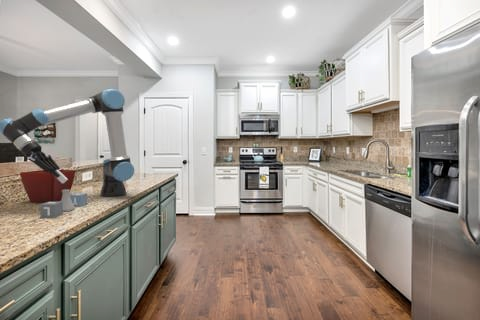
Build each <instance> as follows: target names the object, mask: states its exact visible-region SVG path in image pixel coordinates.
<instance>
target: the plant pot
mask: <svg viewBox="0 0 480 320" xmlns="http://www.w3.org/2000/svg"><path fill="white" fill-rule="evenodd" d="M59 171H60V172H61V173H62V174H63V175H64V176H65V177H66V178H67V179H68V180H67V181H66V182H65V183H61V182H60V181H59V180H58V179H57V178H56V177H55V176H54V175H53V174H51V175H49V173H47V172H45V171H44V170H43V169H41V170H31V171H20V172H19V175H20V179H21V182H22V185H23V188H24V191H25V192H26V195H27V197H28V199H29V200H30V202H32V203H46V202H60V201H61V199H62V195H63V192H62V190H70V191H69V194H71V193H70V192H71V190H72V187H73V183H74V180H75V176H76V169H59Z"/></svg>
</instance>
